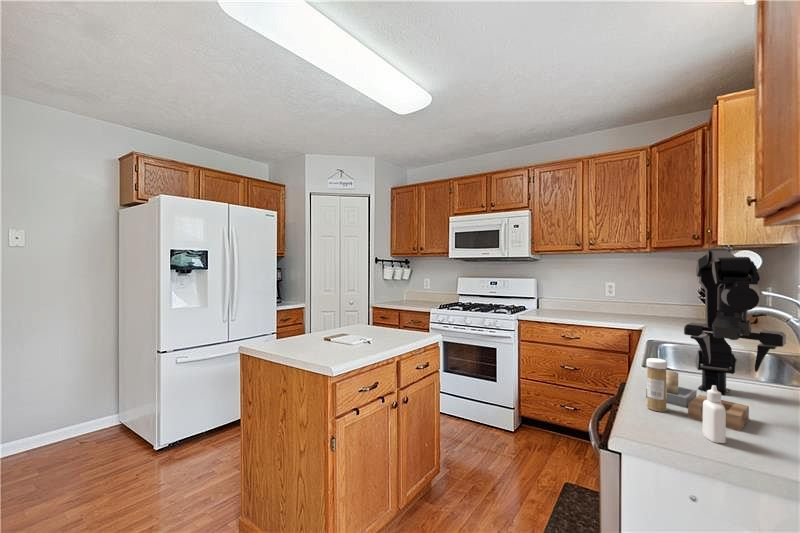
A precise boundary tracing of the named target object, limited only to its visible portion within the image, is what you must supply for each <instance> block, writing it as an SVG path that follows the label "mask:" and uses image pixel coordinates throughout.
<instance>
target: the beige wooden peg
mask: <svg viewBox="0 0 800 533" xmlns="http://www.w3.org/2000/svg"><path fill="white" fill-rule="evenodd" d="M678 386H679V373H678V372H677V371H673V370H672V371H671V370H666V387H667V393H670V394H674V395H678Z"/></svg>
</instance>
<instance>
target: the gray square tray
mask: <svg viewBox="0 0 800 533" xmlns="http://www.w3.org/2000/svg"><path fill="white" fill-rule="evenodd" d="M697 390H698V389H692V388H688V387H687V388H686V387H683V386H679V385H678V395H674V394H670V393H667V398H666V404H670V405H673V406H674V405H675V406H677V407H682V408H688V404H689V403H690V402H691V401H692V400H694V399H695V398H696V397H697V396H698V395H697V393H698V392H697ZM645 395H646V396H645V398H646V399H647V388H646V391H645Z"/></svg>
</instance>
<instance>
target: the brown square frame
mask: <svg viewBox="0 0 800 533" xmlns="http://www.w3.org/2000/svg"><path fill="white" fill-rule="evenodd" d="M704 400H708V399H707V395H701V394H698V395H696V398H695V399H694V400H692V401H691V402H690V403H689V404H688V407H687V418H689V419H693V420H695V421H696V420H697V421H700V422H703V401H704ZM721 403H722V404H723V406H724V407H725V410H726V429H729V430H733V431H737V432H740V431H742V430H743V428H744V426H745V425H746V424H747V423H748V421H749V418H750V414H749V413H750V406H749V405H745V404H743V403H736V402H733V401H728V400H725V399H721Z"/></svg>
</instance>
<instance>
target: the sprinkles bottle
mask: <svg viewBox="0 0 800 533" xmlns="http://www.w3.org/2000/svg"><path fill="white" fill-rule="evenodd" d="M667 361H668V360H666V359H663V358H657V357H656V358H653V357H649V358H646V368H647V370H646V372H647V374H646V389H647V398H646V401H647V404H646V407H647V409H649V410H651V411H654V412H660V413H661V412H662V413H663V412H666V411H667V410H668V408H667V403H666V398H667V387H666V371H667V369H668V362H667Z"/></svg>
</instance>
